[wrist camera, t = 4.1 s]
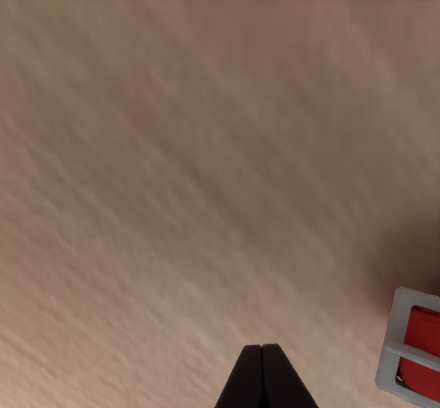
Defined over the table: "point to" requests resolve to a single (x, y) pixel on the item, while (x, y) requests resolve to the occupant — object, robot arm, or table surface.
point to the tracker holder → (412, 349)
